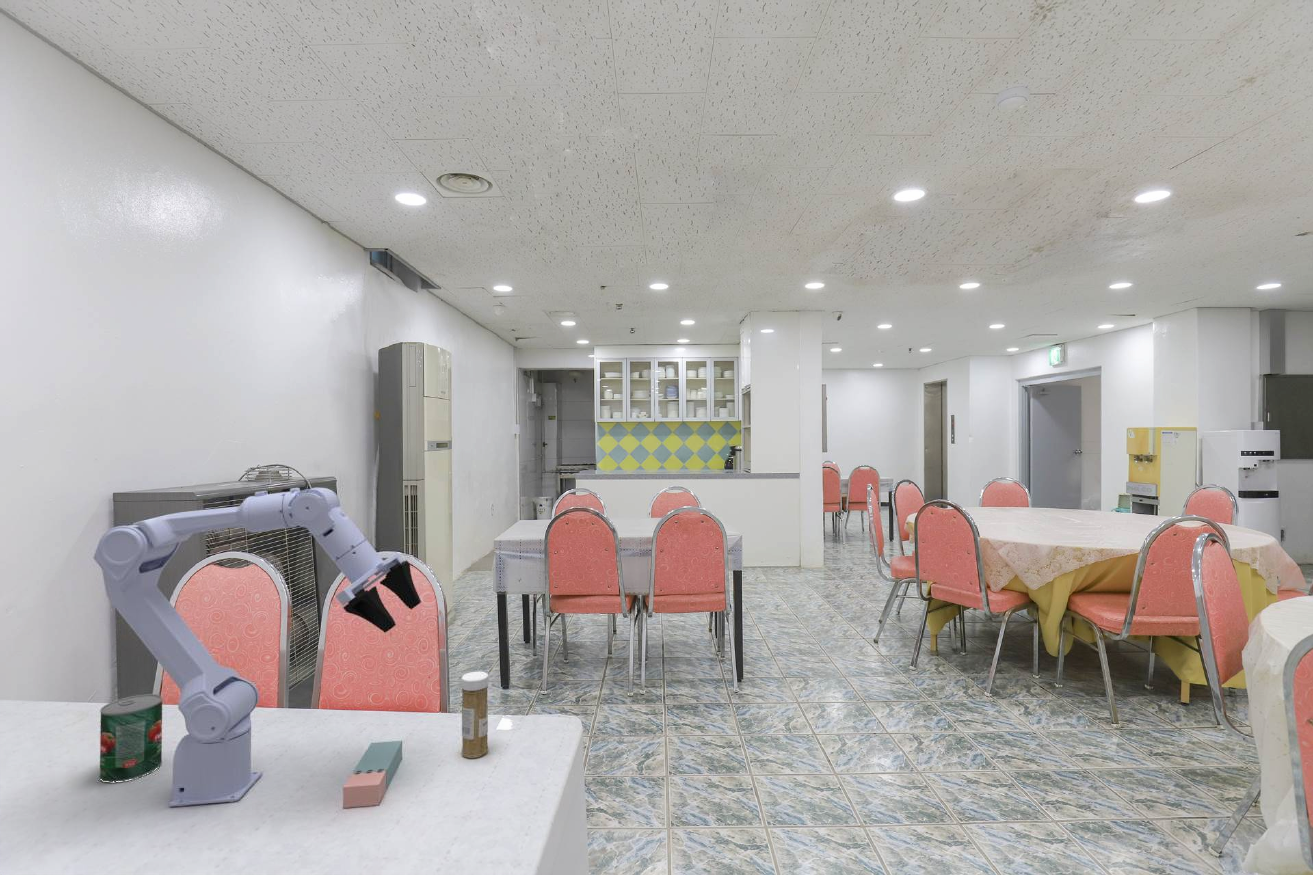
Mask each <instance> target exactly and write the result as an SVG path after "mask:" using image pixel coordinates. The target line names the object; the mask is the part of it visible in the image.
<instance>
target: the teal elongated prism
mask: <svg viewBox="0 0 1313 875" xmlns="http://www.w3.org/2000/svg"><path fill="white" fill-rule="evenodd" d="M402 760H403V740H395V741H393V740H392V741H391V740H390V741H379V742H378V741H377V742H371V743H370V744H369V746H368V748H367V749H366V750H365V752H364V754H363V755H362V757H361V759H360V761H358V764H357V765H356V767H355V768H354V769H353V771H352V773H363V772H376V771H386V791H387V790H388V788H389V786H390V784H391V782H392V779H393V778H394V776H395V774H396V771H397V770H398V768H399V766H400V764H401V761H402Z"/></svg>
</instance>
